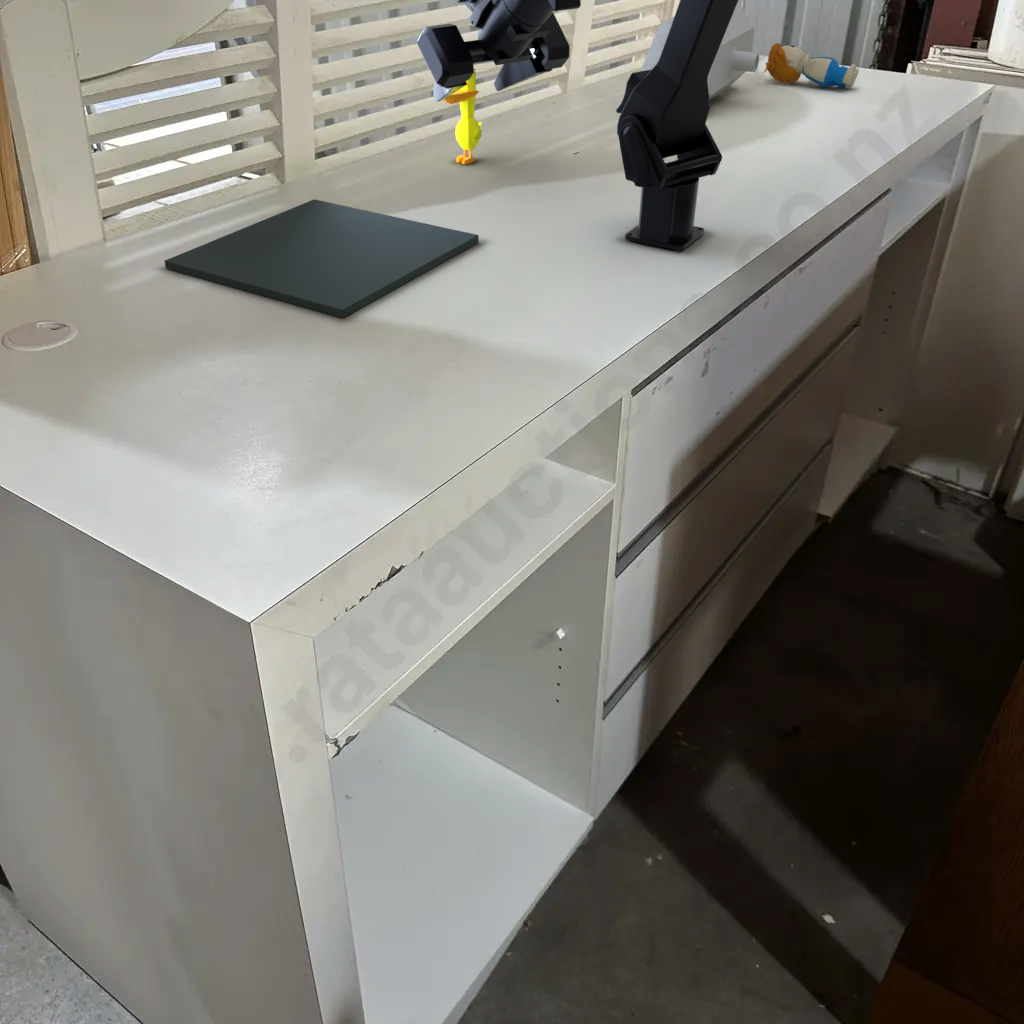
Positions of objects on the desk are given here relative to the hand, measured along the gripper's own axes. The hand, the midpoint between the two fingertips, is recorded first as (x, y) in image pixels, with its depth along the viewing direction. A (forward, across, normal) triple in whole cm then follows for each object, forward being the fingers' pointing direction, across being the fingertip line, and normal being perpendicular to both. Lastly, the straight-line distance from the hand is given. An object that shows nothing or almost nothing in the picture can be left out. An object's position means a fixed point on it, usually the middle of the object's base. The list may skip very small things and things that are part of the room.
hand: (466, 92), depth 117 cm
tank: (+10, -50, +3) cm, 51 cm away
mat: (-6, +30, +18) cm, 36 cm away
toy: (+7, -72, +5) cm, 73 cm away
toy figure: (+7, 0, +6) cm, 9 cm away
